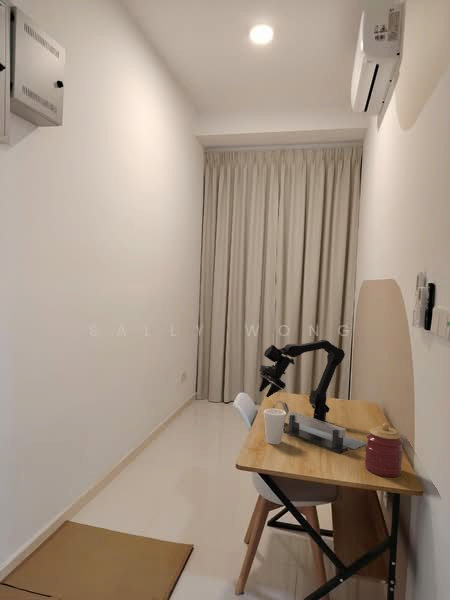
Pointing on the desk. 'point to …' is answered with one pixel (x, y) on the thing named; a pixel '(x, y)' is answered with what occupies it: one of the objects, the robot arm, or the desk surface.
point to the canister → (384, 451)
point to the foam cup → (274, 425)
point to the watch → (283, 406)
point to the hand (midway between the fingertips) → (263, 394)
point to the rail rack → (316, 438)
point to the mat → (347, 441)
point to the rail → (317, 424)
